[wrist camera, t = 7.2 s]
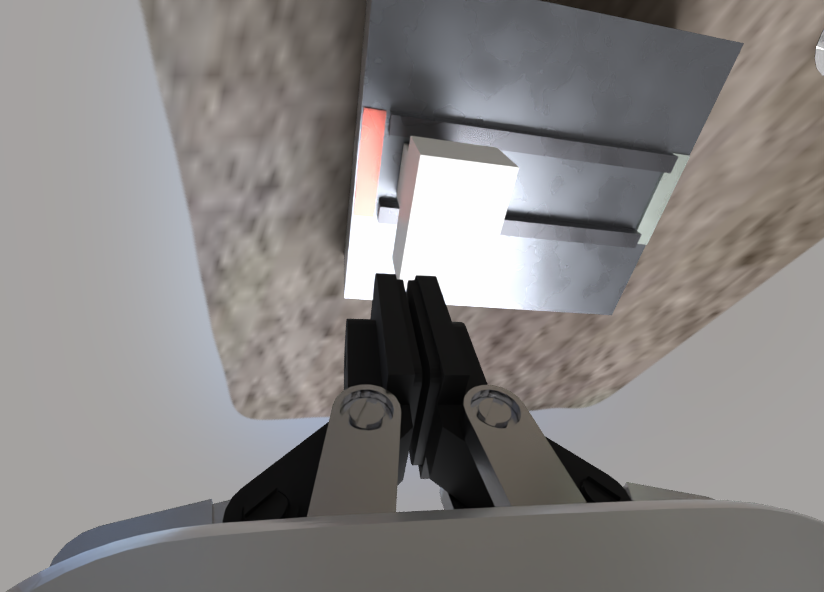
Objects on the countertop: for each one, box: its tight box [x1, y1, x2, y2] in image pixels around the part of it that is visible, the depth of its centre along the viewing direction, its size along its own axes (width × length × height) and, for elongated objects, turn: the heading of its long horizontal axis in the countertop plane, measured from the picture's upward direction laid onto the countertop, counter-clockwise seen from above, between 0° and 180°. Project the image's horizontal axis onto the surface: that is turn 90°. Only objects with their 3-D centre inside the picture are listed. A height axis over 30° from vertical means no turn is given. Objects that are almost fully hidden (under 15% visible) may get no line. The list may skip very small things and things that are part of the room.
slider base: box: [344, 0, 744, 315], centre depth 29 cm, size 18×20×7 cm
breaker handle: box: [392, 136, 519, 295], centre depth 22 cm, size 6×4×8 cm, turn 171°
